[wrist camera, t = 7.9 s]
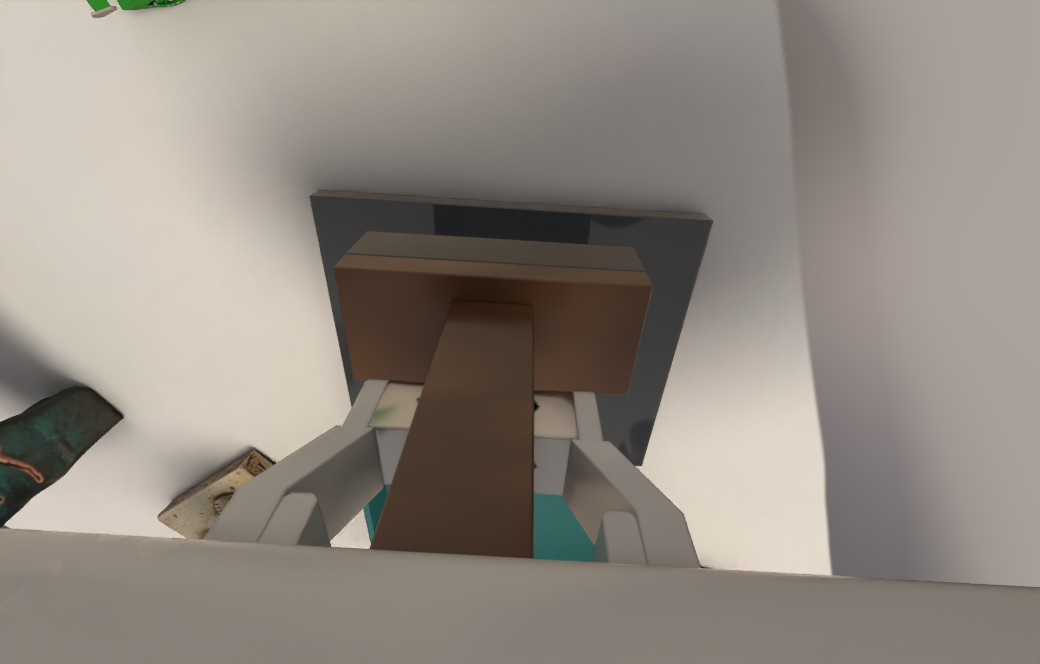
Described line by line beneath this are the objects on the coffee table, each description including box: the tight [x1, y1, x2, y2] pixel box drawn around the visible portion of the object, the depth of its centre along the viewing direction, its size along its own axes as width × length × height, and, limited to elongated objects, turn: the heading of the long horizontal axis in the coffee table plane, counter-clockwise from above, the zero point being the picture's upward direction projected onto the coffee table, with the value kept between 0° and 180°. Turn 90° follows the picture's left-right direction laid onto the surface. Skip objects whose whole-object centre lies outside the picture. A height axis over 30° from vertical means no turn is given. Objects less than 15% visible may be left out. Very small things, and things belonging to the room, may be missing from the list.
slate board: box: [310, 190, 713, 466], centre depth 24 cm, size 18×16×1 cm
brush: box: [333, 231, 653, 559], centre depth 11 cm, size 9×4×11 cm, turn 87°
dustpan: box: [363, 485, 595, 562], centre depth 34 cm, size 23×17×3 cm
